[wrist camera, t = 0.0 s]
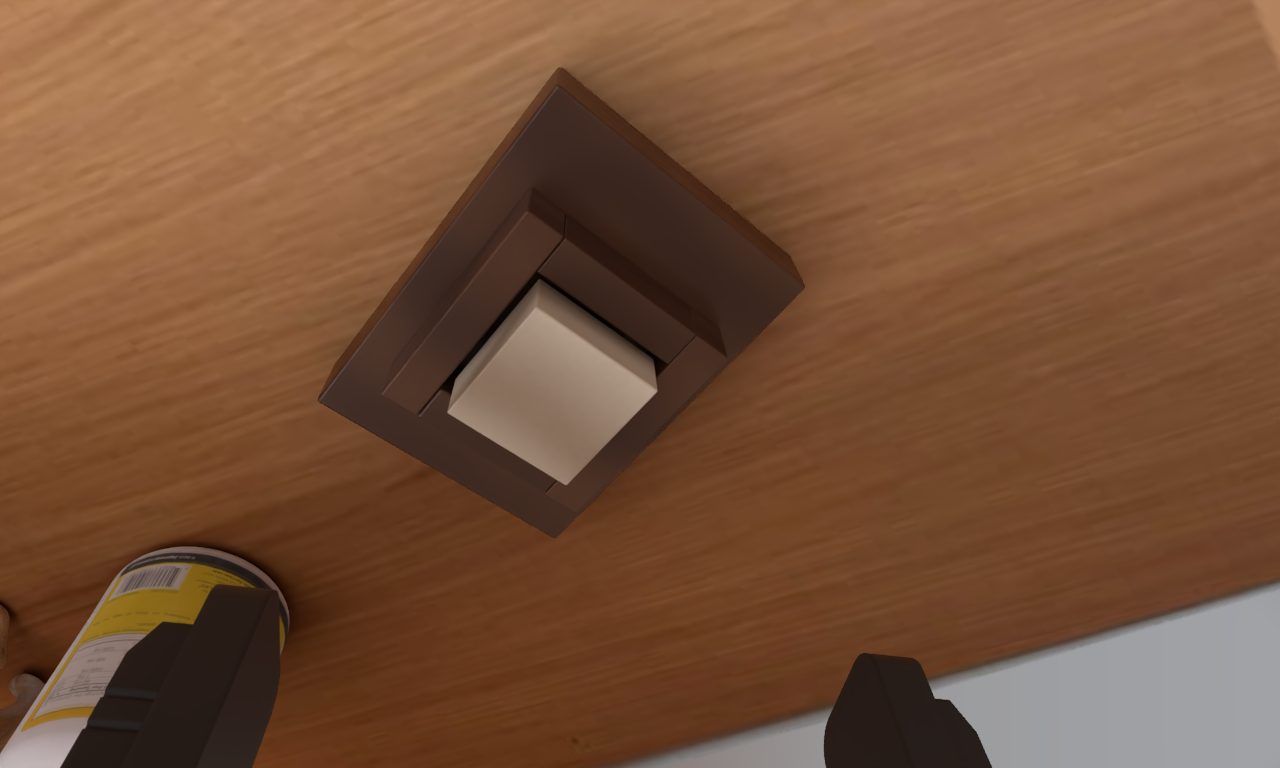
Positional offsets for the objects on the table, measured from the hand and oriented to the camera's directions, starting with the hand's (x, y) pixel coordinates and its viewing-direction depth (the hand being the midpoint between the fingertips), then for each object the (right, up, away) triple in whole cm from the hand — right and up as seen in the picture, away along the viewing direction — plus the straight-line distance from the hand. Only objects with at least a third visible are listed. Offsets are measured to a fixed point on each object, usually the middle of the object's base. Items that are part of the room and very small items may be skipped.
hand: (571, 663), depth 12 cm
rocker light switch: (-2, +6, +16) cm, 17 cm away
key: (-1, +4, +13) cm, 13 cm away
